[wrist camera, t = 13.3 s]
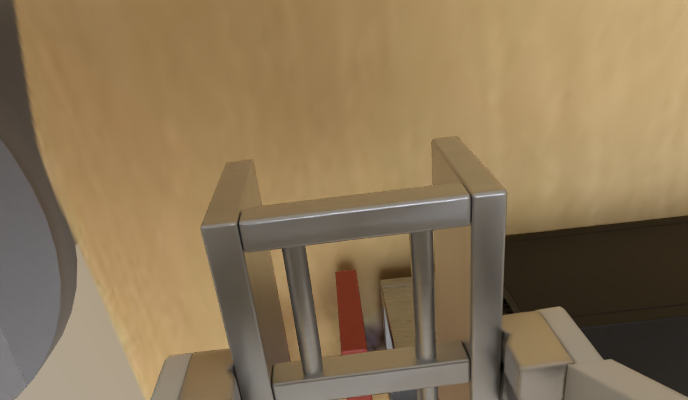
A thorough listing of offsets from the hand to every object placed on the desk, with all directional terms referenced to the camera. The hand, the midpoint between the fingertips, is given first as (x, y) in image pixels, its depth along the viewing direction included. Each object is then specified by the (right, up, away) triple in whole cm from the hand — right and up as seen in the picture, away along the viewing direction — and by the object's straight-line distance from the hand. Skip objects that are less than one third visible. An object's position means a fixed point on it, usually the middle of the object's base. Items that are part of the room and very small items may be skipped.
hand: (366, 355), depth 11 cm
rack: (0, +1, +2) cm, 2 cm away
